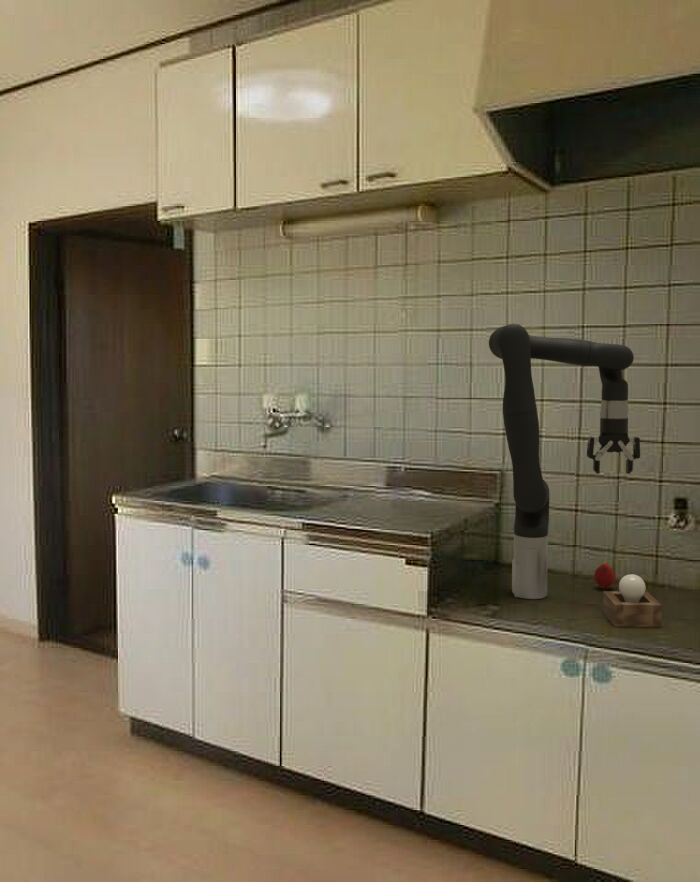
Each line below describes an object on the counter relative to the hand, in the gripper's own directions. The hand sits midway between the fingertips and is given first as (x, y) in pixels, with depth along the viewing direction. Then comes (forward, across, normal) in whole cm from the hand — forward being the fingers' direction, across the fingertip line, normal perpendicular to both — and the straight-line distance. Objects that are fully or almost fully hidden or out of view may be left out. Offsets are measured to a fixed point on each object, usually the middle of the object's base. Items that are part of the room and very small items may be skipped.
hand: (612, 473), depth 223 cm
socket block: (+33, -2, -28) cm, 43 cm away
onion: (+33, -2, -2) cm, 33 cm away
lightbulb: (+33, -2, -28) cm, 43 cm away
